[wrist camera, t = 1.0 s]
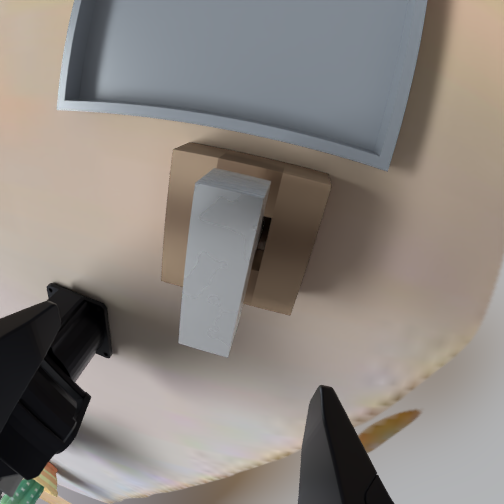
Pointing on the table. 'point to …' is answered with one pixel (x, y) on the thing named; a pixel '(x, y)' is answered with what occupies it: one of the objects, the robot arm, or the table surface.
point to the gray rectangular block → (220, 257)
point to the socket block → (277, 207)
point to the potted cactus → (34, 487)
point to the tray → (251, 67)
